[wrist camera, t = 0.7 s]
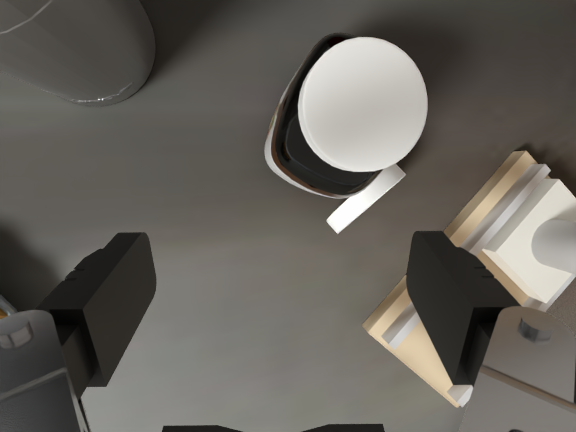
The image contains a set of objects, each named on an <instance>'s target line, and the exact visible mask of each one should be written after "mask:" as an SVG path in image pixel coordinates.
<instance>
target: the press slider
mask: <svg viewBox="0 0 576 432" xmlns="http://www.w3.org/2000/svg"><path fill="white" fill-rule="evenodd" d="M482 251H483V252H484V253H485V254H486V255H487V256H488V257H489V258H490V259H491V260H492V261H493V262H494V263H495V264H496V265H497V266H498V267H499V268H500V269H501V270H502V271H503V272H504V273H505V274H506V275H507V276H508V277H509V278H510V279H511V280H512V281H513V282H514V283H515V284H516V285H517V286H518V287H519V288H520V289H521V290H522V291H523V292H524V293H525V294H527V295H528V296H530V297H532V298H534V299H537V300H539V301H541V302H544V303H547V302H548V301H549V300H550V299H551V298H552V296H553V295H554V294H555V293H556V292H557V291H558V290H559V288H560V287H561V286H562V285H563V284H564V283H565V281H566V280H567V279H568V278H569V277H570V276H571V275H572V274H576V198H575V197H574V195H573V194H572V193H571V192H570V191H569V190H568V189H567V188H566V186H565V185H564V184H563V183H562V182H561V181H560V180H559V179H543V180H542V181H541V182H540V184H539V185H538V186H537V187H536V188H535V189H534V190H533V192H532V193H531V194H530V195H529V196H528V197H527V199H526V200H525V201H524V202H523V203H522V204H521V205H520V207H519V208H518V209H517V210H516V211H515V212H514V213H513V215H512V216H511V217H510V218H509V219H508V220H507V222H506V223H505V224H504V225H503V226H502V227H501V228H500V230H499V231H498V232H497V233H496V234H495V235H494V236H493V238H492V239H491V240H490V241H489V242H488V243H487V244H486V246H485V247H484V248H483V249H482Z"/></svg>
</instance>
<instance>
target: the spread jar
mask: <svg viewBox="0 0 576 432" xmlns="http://www.w3.org/2000/svg"><path fill="white" fill-rule="evenodd" d="M427 111H428V103H427V92H426V87H425V83H424V81H423V78H422V75H421V73H420V71H419V69H418V68H417V66H416V64H415V63H414V61H413V60H412V59H411V58H410V57H409V56H408V55H407V54H406V53H405V52H404V51H403V50H401V49H400V48H399V47H397V46H396V45H394V44H392V43H390V42H387V41H385V40H382V39H378V38H373V37H357V36H354V35H351V34H346V33H334V34H330V35H327V36H325V37H324V38H322V39H321V40H320V41H319V42H318V43H317V44H316V45H315V46H314V47H313V49H312V50H311V51H310V53H309V54H308V55H307V57H306V58H305V60H304V61H303V63H302V65H301V66H300V68H299V69H298V71H297V72H296V74H295V75H294V77H293V78H292V80H291V82H290V83H289V85H288V87H287V88H286V90H285V92H284V93H283V95H282V97H281V99H280V101H279V103H278V105H277V107H276V110H275V112H274V115H273V117H272V120H271V123H270V127H269V130H268V134H267V138H266V143H265V159H266V161H267V164H268V165H269V167H270V168H271V169H272V170H273V171H274V172H275V173H276V174H277V175H279V176H280V177H281V178H283V179H284V180H286V181H287V182H289V183H291V184H293V185H295V186H297V187H299V188H301V189H303V190H306V191H308V192H311V193H314V194H318V195H322V196H326V197H331V198H340V199H341V198H348V199H347V200H346V201H345V202H344V203H343V204H342V205H341V206H340V207H339V208H338V209H337V210H336V211H334V212H333V213H332V215H331V216H330V217H329V218H328V219H327V222H328V224H329V225H330V226H331V227H332V228H333V229H334V230H335V232H336V233H337V234H338V233H339V232H340V231H342V230H343V229H344V228H345V227H346V226H348V225H349V224H350V223H351V222H352V221H353V220H355V219H356V218H357V217H358V216H359V215H360V214H362V213H363V212H364V211H365V210H366V209H367V208H369V207H370V206H371V205H372V204H373V203H374V202H376V201H377V200H378V199H379V198H380V197H381V196H382V195H384V194H385V193H386V192H387V191H388V190H389V189H391V188H392V187H393V186H394V185H395V184H396V183H397V182H399V181H400V180H401V179H402V178H403V177H404V176H405V175H406V174H405V173H404V172H403V171H402V170H401V169H400V168H399V167H398V165H397V164H396V163H397V162H398V161H399V160H401V159H402V158H403V157H405V156H406V155H407V154H408V153H409V152H410V150H411V149H412V148H413V147H414V146H415V144H416V142H417V141H418V139H419V137H420V136H421V133H422V131H423V128H424V125H425V122H426V116H427Z"/></svg>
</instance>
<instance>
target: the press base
mask: <svg viewBox="0 0 576 432" xmlns="http://www.w3.org/2000/svg"><path fill="white" fill-rule="evenodd" d="M550 171H551V170H550V169H549V168H548V166H547V165H546V164H538V163H537V162H536V161H535V160H534V159H533V158H532V157H531V156H530V154H529V153H528V152H527V151H514V152H512V153H511V155H510V156H509V157H508V158H507V159H506V160H505V161H504V163H503V164H502V165H501V166H500V167H499V168H498V169H497V171H496V172H495V173H494V174H493V175H492V176H491V178H490V179H489V180H488V181H487V182H486V183H485V184H484V186H483V187H482V188H481V189H480V190H479V191H478V192H477V194H476V195H475V196H474V197H473V198H472V199H471V200H470V202H469V203H468V204H467V205H466V206H465V207H464V208H463V210H462V211H461V212H460V213H459V214H458V215H457V217H456V218H455V219H454V220H453V221H452V222H451V223H450V225H449V226H448V227H447V228H446V229H445V230H444V231H443V232H444V233H445V234H446V236H447V237H448V238H449V239H450V240H451V242H452V243H453V244H454V245H455V246H456V247H462V248H463V249H465V250H467V251H468V252H470V253H472V254H473V255H475V256H476V257H477V258H478V259H479V260H480V261H481V262H482V263H483V264H484V265H485V266H486V269H488V270H489V271H490V272H491V273H492V274H493V275H494V278H497V280H498V281H499V282H500V283H501V284H502V285H503V286H504V287H505V288H506V289H507V291H508V292H509V293H510V294H511V295H512V296H513V297H514V298H515V299H516V300H517V301H518V303H519V304H520V305H521V306H522V307H529V308H533V309H537V310H540V311H542V312H545V311H546V310H547V309H548V308H549V307H550V306H551V304H552V303H553V302H554V301H555V300H556V299H557V298H558V296H559V295H560V294H561V293H562V292H563V291H564V289H565V288H566V287H567V286H568V285H569V284H570V283H571V281H572V280H573V279H574V278H575V277H576V274H572V275H571V276H570V277H569V278H568V279H567V280H566V281H565V283H564V284H563V285H562V286H561V287H560V288H559V290H558V291H557V292H556V293H555V294H554V295H553V296H552V298H551V299H550V300H549V301H548V302H547V303H544V302H541V301H539V300H537V299H534V298H532V297H530V296H528V295H527V294H525V293H524V292H523V291H522V290H521V289H520V288H519V287H518V286H517V285H516V284H515V283H514V282H513V281H512V280H511V279H510V278H509V277H508V276H507V275H506V274H505V273H504V272H503V271H502V270H501V269H500V268H499V267H498V266H497V265H496V264H495V263H494V262H493V261H492V260H491V259H490V258H489V257H488V256H487V255H486V254H485V253H484V252H483V251H482V249H483V248H484V247H485V246H486V244H487V243H488V242H489V241H490V240H491V239H492V238H493V236H494V235H495V234H496V233H497V232H498V231H499V230H500V228H501V227H502V226H503V225H504V224H505V223H506V222H507V220H508V219H509V218H510V217H511V216H512V215H513V213H514V212H515V211H516V210H517V209H518V208H519V207H520V205H521V204H522V203H523V202H524V201H525V200H526V199H527V197H528V196H529V195H530V194H531V193H532V192H533V190H534V189H535V188H536V187H537V186H538V185H539V184H540V182H541V181H542V180H543V179H551V178H550V177H549V176H548V175H547V174H548V173H549V172H550ZM362 326H363V327H364V329H365V330H366V331H367V332H368V333H369V334H370V335H371V336H372V337H374V338H375V339H376V340H377V341H378V342H380V343H381V344H382V345H383V346H384V347H385V348H387V349H388V350H389V351H390V352H391V353H393V354H394V355H395V356H396V357H397V358H399V359H400V360H401V361H402V362H403V363H404V364H406V365H407V366H408V367H409V368H410V369H412V370H413V371H414V372H415V373H416V374H417V375H419V376H420V377H421V378H422V379H423V380H425V381H426V382H427V383H428V384H429V385H430V386H432V387H433V388H434V389H435V390H436V391H438V392H439V393H440V394H441V395H442V396H443V397H445V398H446V399H447V400H448V401H449V402H451V403H452V404H453V405H454V406H455V407H457V408H458V406H459V405H460V406H462V407H463V406H464V405H465V404H466V403H467V401H468V400H469V399H470V396H471V393H472V390H473V387H472V385H453V384H452V382H451V380H450V378H449V376H448V374H447V372H446V370H445V368H444V366H443V364H442V362H441V360H440V358H439V356H438V354H437V352H436V350H435V348H434V346H433V344H432V342H431V340H430V338H429V336H428V334H427V332H426V329H425V327H424V325H423V323H422V321H421V319H420V317H419V315H418V313H417V311H416V309H415V307H414V305H413V303H412V301H411V299H410V297H409V295H408V292H407V286H406V275H405V276H404V277H403V278H402V280H401V281H400V282H399V283H398V284H397V285H396V286H395V288H394V289H393V290H392V291H391V292H390V293H389V294H388V296H387V297H386V298H385V299H384V300H383V301H382V303H381V304H380V305H379V306H378V307H377V308H376V309H375V311H374V312H373V313H372V314H371V315H370V316H369V317H368V319H367V320H366V321H365V322H364V323H363V324H362Z"/></svg>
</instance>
